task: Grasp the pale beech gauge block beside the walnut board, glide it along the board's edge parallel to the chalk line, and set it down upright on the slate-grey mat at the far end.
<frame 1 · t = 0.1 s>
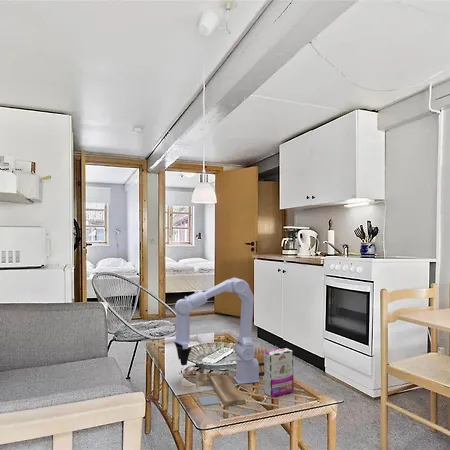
hand: (182, 361, 149), 10 cm above the table, tool pointing down, fingers open, 7 cm apart
walnut board: (225, 391, 144), on the table
candy bar box: (278, 393, 143), on the table
slate mat: (208, 400, 135), on the table
ammunition clip: (261, 375, 162), on the table, touching arm
beech gauge: (201, 384, 151), on the table
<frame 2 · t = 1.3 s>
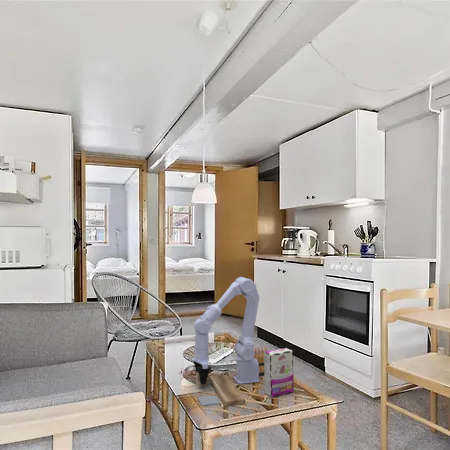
hand: (201, 380, 151), 2 cm above the table, tool pointing down, fingers open, 7 cm apart
nothing on the table moved.
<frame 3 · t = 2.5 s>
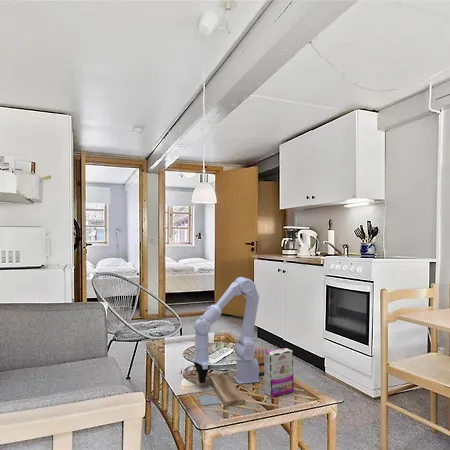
hand: (201, 381, 151), 1 cm above the table, tool pointing down, fingers closed on beech gauge, 3 cm apart
beech gauge: (201, 384, 151), on the table, touching gripper
everything else where it was.
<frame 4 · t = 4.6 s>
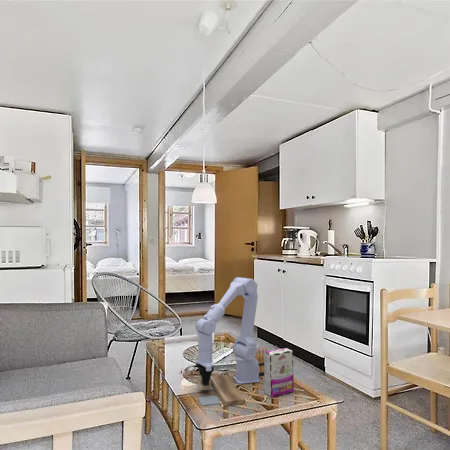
hand: (204, 383, 144), 3 cm above the table, tool pointing down, fingers closed on beech gauge, 3 cm apart
beech gauge: (204, 388, 144), point 1 cm above the table, touching gripper
everything else where it was.
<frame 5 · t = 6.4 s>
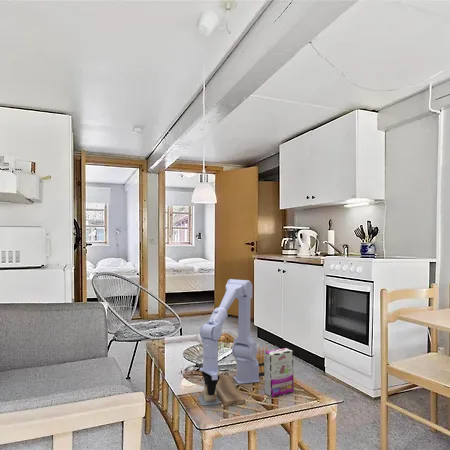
hand: (210, 392, 135), 3 cm above the table, tool pointing down, fingers closed on beech gauge, 3 cm apart
beech gauge: (210, 399, 135), point 1 cm above the table, touching gripper
everything else where it was.
when the fingers open (2 cm above the table, at t = 7.0 s): beech gauge stays where it is, resting on slate mat.
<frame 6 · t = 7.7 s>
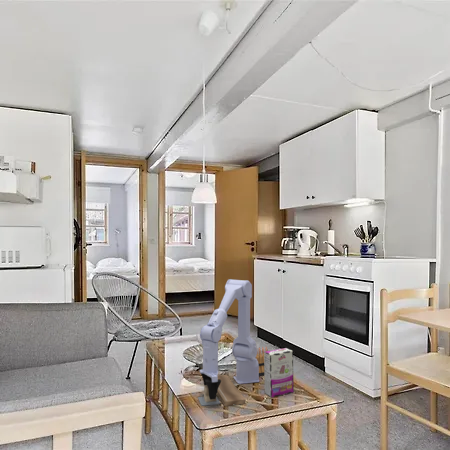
hand: (210, 394, 135), 2 cm above the table, tool pointing down, fingers open, 7 cm apart
beech gauge: (210, 399, 135), resting on slate mat
everything else where it was.
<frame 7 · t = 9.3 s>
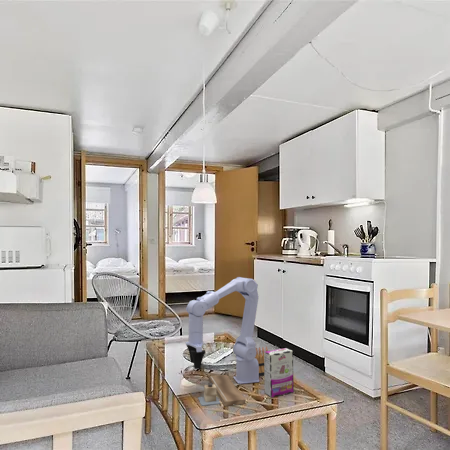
hand: (195, 365, 144), 10 cm above the table, tool pointing down, fingers open, 7 cm apart
nothing on the table moved.
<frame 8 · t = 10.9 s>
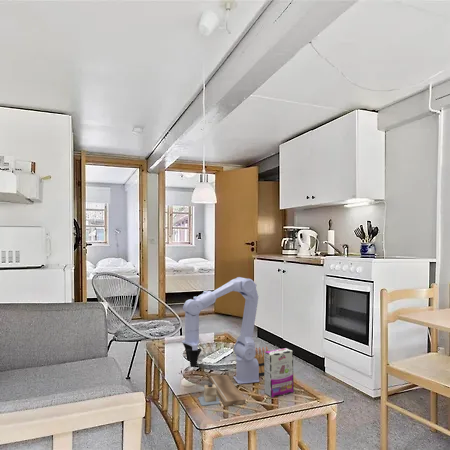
hand: (191, 363, 146), 10 cm above the table, tool pointing down, fingers open, 7 cm apart
nothing on the table moved.
at the end: beech gauge 0.2 cm from the target spot, resting on slate mat; beech gauge tilted 0°; the gripper is holding nothing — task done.
